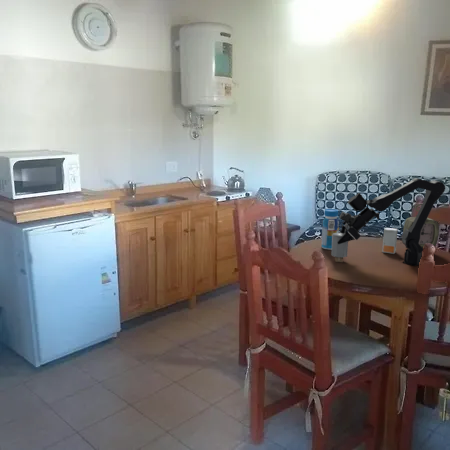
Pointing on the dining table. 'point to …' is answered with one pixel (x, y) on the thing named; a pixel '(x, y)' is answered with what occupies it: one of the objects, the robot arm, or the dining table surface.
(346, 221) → the robot arm
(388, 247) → the skincare box
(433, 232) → the tabletop clock
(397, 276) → the dining table surface
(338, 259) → the taped cardboard box
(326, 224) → the beverage bottle
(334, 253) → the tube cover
